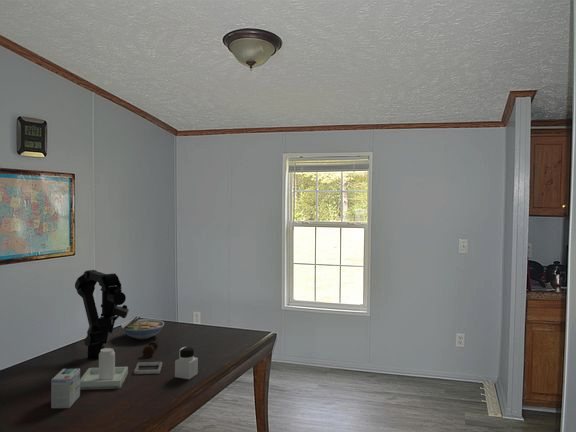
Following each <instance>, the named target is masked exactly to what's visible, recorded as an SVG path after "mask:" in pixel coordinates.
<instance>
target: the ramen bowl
mask: <svg viewBox="0 0 576 432" xmlns="http://www.w3.org/2000/svg"><path fill="white" fill-rule="evenodd" d="M164 325H165V322H164V321H163V320H160V319H155V318H154V319H152V318H145V319H144V318H143V319H142V318H141V316H139V317H138V316H135V317H134V318H133V319H132V320H129V321H125V322H123V323H121V325H120V327H121V330H122V331H123V332H124V333H125V334H126V336H129V337H131V338H134V339H137V340H147V339H150V338H151V337H154V336H156V335H157V334H159V333H160V332H161V331H162V330H163V327H164Z"/></svg>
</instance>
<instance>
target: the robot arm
mask: <svg viewBox="0 0 576 432" xmlns="http://www.w3.org/2000/svg"><path fill="white" fill-rule="evenodd" d="M97 283H98V285H99V286H100V291H101V304H100V308H101V313H100V317H99V313H98V309H97V305H96V302H95V297H94V293H95V289H96V284H97ZM74 288H75V290H76V293H77V294H78V295H79V296H80V297H81V299H82V302H83V304H84V310H85V315H86V318H87V322H88V329H87V332H86V337H85V338H84V340H83V342H84V346H86V347H87V357H86V360H99V353H100V352H101V349H104V348H105V346H104V345H105V344H107V342H108V337H109V334H112V333H113V330H114V327H115V323H116V320H118V319H119V317H121V318H122V319H126V317H127V316H128V313H129V311H130V309H129V308H128V305H126V304H124V303H125V302H126V300H127V299H126V298H127V297H126V294H125V293H124V292H122V291H123V290H122V289H123V288H122V282H121V281H120V278H119V276H118V275H117V274H116V273H104V272H101V271H98V270H96V269H89V270H84V272H83V274H81V275H80V276H79V277H77V279H76V281H75V283H74ZM121 305H122V306H121Z"/></svg>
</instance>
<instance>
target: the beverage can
mask: <svg viewBox="0 0 576 432" xmlns="http://www.w3.org/2000/svg"><path fill="white" fill-rule="evenodd" d="M115 367H116V352H115V350H114V348H112V347H104V349H101V352H100V353H99V359H98V368H99V379H101V380H110V379H112V378H113V377H114V376H115Z"/></svg>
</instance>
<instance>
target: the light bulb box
mask: <svg viewBox="0 0 576 432" xmlns="http://www.w3.org/2000/svg"><path fill="white" fill-rule="evenodd" d="M80 379H81V368H62V369H61V370H60V371H59V372H58V373H57V374H56V375H54V377H52V378H51V379H50V381H51V382H50V383H51V392H50V393H51V397H50V399H51V403H50V405H51V407H50V408H51V409H70V408H71V407H72V405H74V403H75V402H76V401H77V400H78V399H79V398H80V396H81V390H80Z"/></svg>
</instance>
